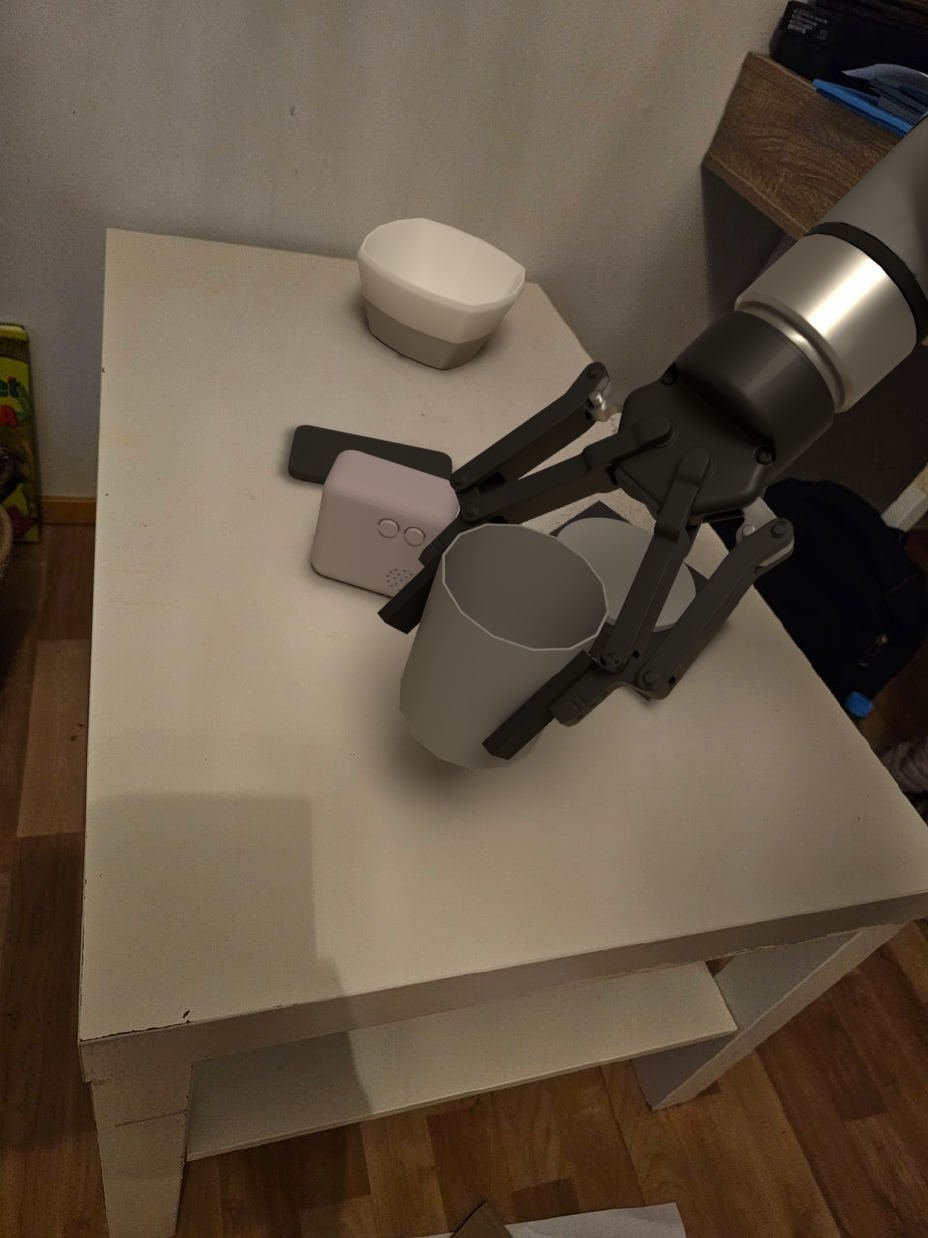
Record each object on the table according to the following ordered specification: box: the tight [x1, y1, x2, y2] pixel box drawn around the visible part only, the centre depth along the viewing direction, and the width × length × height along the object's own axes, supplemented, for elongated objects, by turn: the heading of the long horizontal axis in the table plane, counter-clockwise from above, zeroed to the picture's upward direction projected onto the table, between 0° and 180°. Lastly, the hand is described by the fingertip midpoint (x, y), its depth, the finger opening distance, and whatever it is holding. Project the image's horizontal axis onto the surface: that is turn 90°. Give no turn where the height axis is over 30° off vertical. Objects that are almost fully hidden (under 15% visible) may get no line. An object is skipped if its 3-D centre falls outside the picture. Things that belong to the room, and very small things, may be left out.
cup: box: [398, 524, 609, 771], centre depth 43 cm, size 8×8×10 cm
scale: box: [548, 499, 740, 702], centre depth 73 cm, size 16×14×4 cm
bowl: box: [356, 217, 527, 370], centre depth 93 cm, size 18×18×9 cm
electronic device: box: [310, 450, 460, 598], centre depth 65 cm, size 10×5×10 cm, turn 80°
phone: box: [287, 424, 453, 484], centre depth 77 cm, size 7×1×15 cm
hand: (441, 685), depth 42 cm, fingers closed on cup, 8 cm apart
